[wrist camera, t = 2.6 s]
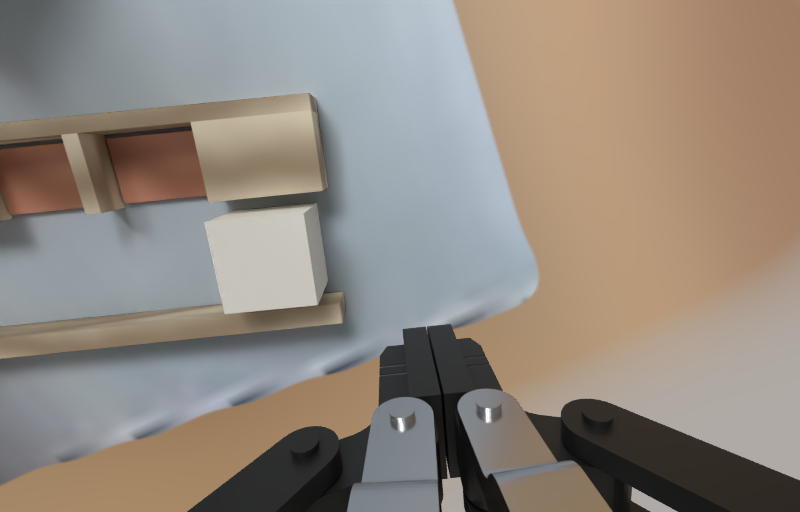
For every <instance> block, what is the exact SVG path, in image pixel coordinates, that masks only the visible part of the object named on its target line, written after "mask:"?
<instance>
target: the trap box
mask: <svg viewBox="0 0 800 512" xmlns="http://www.w3.org/2000/svg"><path fill="white" fill-rule="evenodd" d="M188 126H191V127H192V130H191V131H181V132H171V133H160V134H150V135H140V136H130V137H120V138H109V139H106V136H105V135H106V134H117V133H127V132H137V131H147V130H158V129H168V128H178V127H188ZM55 139H62V140H63V143H58V144H48V145H38V146H28V147H18V148H7V149H0V221H4V220H10V219H13V217H12V215H17V214H27V213H37V212H47V211H57V210H67V209H77V208H84V211H85V214H86V215H87V214H97V213H104V212H108V211H113V210H117V209H122V208H126V207H125V204H127V203H137V202H147V201H157V200H167V199H177V198H187V197H197V196H207V198H208V202H217V201H227V200H237V199H247V198H257V197H267V196H277V195H287V194H297V193H307V192H317V191H324V190H325V189H327V188H328V182H327V175H326V168H325V161H324V154H323V147H322V140H321V133H320V126H319V119H318V112H317V105H316V98H315V97H313V96H312V95H311V94H309V93H304V94H293V95H283V96H273V97H262V98H252V99H242V100H232V101H221V102H211V103H201V104H190V105H180V106H170V107H160V108H149V109H139V110H129V111H118V112H108V113H98V114H88V115H77V116H67V117H57V118H46V119H36V120H26V121H16V122H5V123H0V145H4V144H14V143H25V142H35V141H45V140H55ZM117 178H118V179H117ZM119 185H120V186H119ZM345 310H346V308H345V301H344V294H343V292H335V293H325V294H322V296H321V299H320V301H319V303H318V305H315V306H305V307H294V308H284V309H274V310H263V311H253V312H242V313H232V314H224V309H223V305H222V304H218V305H209V306H199V307H189V308H179V309H170V310H160V311H150V312H141V313H131V314H121V315H111V316H102V317H92V318H82V319H73V320H63V321H53V322H43V323H34V324H24V325H14V326H5V327H0V359H3V358H13V357H22V356H32V355H42V354H51V353H61V352H70V351H80V350H90V349H99V348H109V347H119V346H128V345H138V344H148V343H157V342H167V341H176V340H186V339H196V338H205V337H215V336H225V335H234V334H244V333H254V332H263V331H273V330H282V329H292V328H302V327H311V326H321V325H331V324H340V323H343V319H344V314H345Z"/></svg>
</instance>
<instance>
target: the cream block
mask: <svg viewBox="0 0 800 512" xmlns="http://www.w3.org/2000/svg"><path fill="white" fill-rule="evenodd" d="M204 224H205V229H206V233H207V238H208V242H209V247H210V251H211V256H212V260H213V264H214V269H215V273H216V278H217V282H218V287H219V291H220V296H221V300H222V305H223V309H224V314H232V313H242V312H253V311H263V310H274V309H284V308H294V307H305V306H315V305H318V303H319V301H320V299H321V296H322V294H323V292H324V289H325V287H326V285H327V283H328V276H327V269H326V262H325V255H324V248H323V241H322V234H321V227H320V220H319V213H318V206H317V203H310V204H299V205H288V206H278V207H267V208H256V209H245V210H234V211H232V212H229V213H227V214H224V215H222V216H219V217H217V218H214V219H212V220H209V221H207V222H204Z"/></svg>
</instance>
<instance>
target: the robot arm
mask: <svg viewBox="0 0 800 512" xmlns="http://www.w3.org/2000/svg"><path fill="white" fill-rule="evenodd" d="M427 333H428V335H427ZM403 338H404V345H397V346H387V347H386V349H385V350H384V351H383V353H382V354H381V355H380V377H379V378H380V379H379V407H378V408H377V409H376V410H375V412H374V414H373V416H372V421H371V424H370V425H369V426H368V427H367V428H366V429H364V430H363V431H361V432H359V433H357V434H354V435H352V436H349V437H346V438H343V439H340V440H339V439H338V436H337V435H336V433H335V432H334V431H332V430H330V429H328V428H325V427H321V426H313V427H306V428H302V429H299V430H296V431H294V432H292V433H290V434H289V435H287V436H286V437H284V438H283V439H281V440H280V441H279V442H278V443H276V444H275V445H274V446H272V447H271V448H270V449H268V450H267V451H266V452H265V453H263V454H262V455H261V456H259V457H258V458H257V459H255V460H254V461H253V462H252V463H250V464H249V465H248V466H246V467H245V468H244V469H242V470H241V471H240V472H238V473H237V474H236V475H234V476H233V477H232V478H231V479H229V480H228V481H227V482H226V483H224V484H223V485H221V486H220V487H219V488H218V489H216V490H215V491H214V492H212V493H211V494H210V495H208V496H207V497H206V498H204V499H203V500H202V501H201V502H199V503H198V504H197V505H195V506H194V507H193V508H191V509H190V510H189V511H188V512H442V510H441V503H442V500H443V487H442V479H447V465H446V458H447V464H448V469H449V474H450V478H456V477H461V482H462V486H463V498H464V508H465V512H650V511H648V510H646V509H645V508H642V507H641V506H639V505H637V504H636V503H634V502H632V501H631V492H632V487H634V488H635V489H637V490H639V491H641V492H643V493H644V494H646V495H648V496H650V497H652V498H654V499H656V500H657V501H659V502H661V503H663V504H665V505H667V506H669V507H671V508H672V509H674V510H676V511H678V512H800V480H797V479H795V478H792V477H790V476H787V475H785V474H782V473H780V472H778V471H775V470H772V469H770V468H767V467H765V466H763V465H760V464H758V463H755V462H753V461H751V460H748V459H746V458H743V457H741V456H738V455H736V454H733V453H731V452H728V451H726V450H724V449H721V448H718V447H716V446H714V445H711V444H709V443H706V442H704V441H702V440H699V439H696V438H694V437H692V436H689V435H687V434H684V433H682V432H679V431H677V430H675V429H672V428H670V427H667V426H665V425H662V424H660V423H657V422H655V421H652V420H650V419H648V418H645V417H643V416H640V415H638V414H635V413H633V412H630V411H628V410H625V409H623V408H620V407H618V406H616V405H613V404H611V403H608V402H605V401H601V400H595V399H579V400H574V401H571V402H569V403H567V404H566V405H565V406H564V407H563V409H562V411H561V417H552V416H544V415H537V414H533V413H528V412H526V411H524V410H523V409H522V407H521V406H520V404H519V403H518V401H517V400H516V399H515V398H514V397H513V396H511V395H510V394H507V393H506V392H503V390H502V389H501V386H500V384H499V382H498V380H497V378H496V376H495V374H494V372H493V370H492V368H491V366H490V365H489V362H488V360H487V358H486V357H485V354H484V352H483V349H482V347H481V345H479V344H478V343H476V342H475V341H473V340H472V339H471V338H464V339H456V337H455V334H454V332H453V329H452V326H451V324H446V325H437V326H427V330H426V327H418V328H408V329H403Z"/></svg>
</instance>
